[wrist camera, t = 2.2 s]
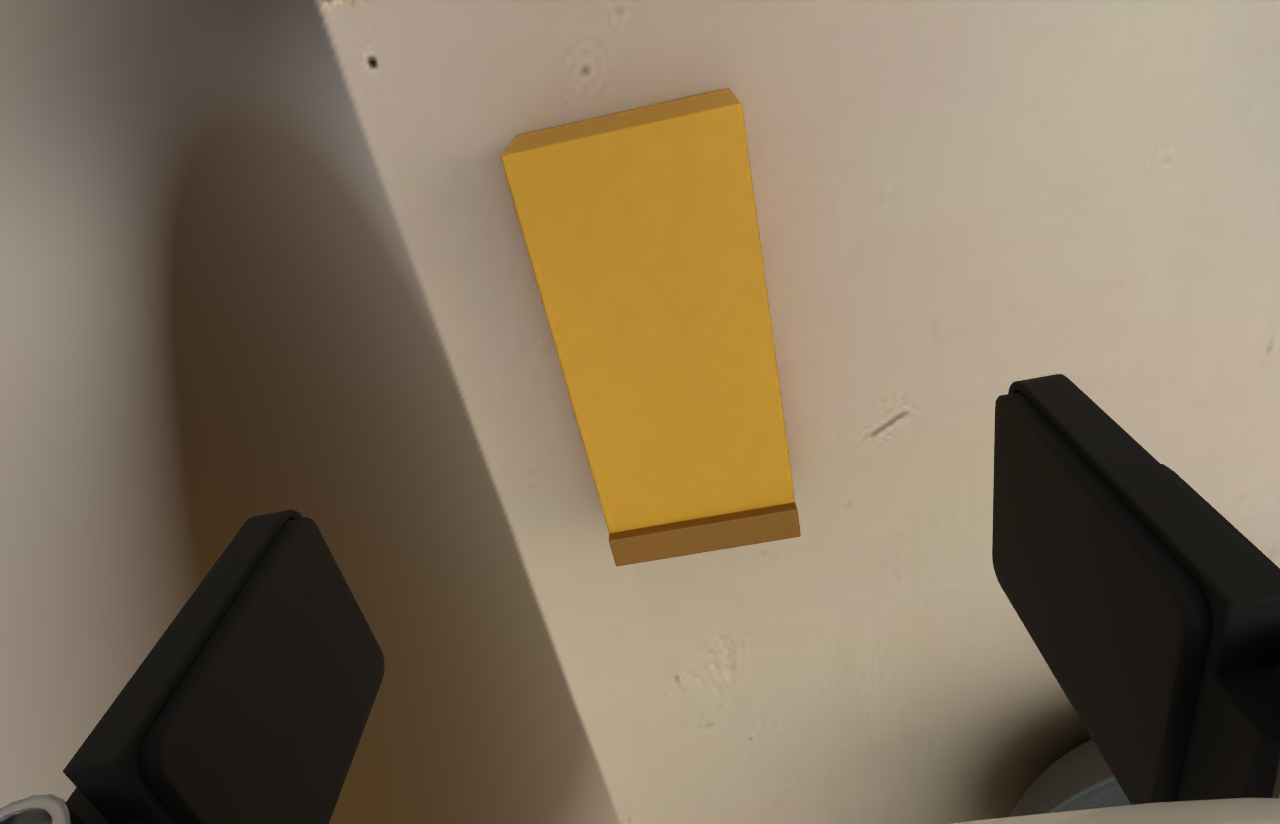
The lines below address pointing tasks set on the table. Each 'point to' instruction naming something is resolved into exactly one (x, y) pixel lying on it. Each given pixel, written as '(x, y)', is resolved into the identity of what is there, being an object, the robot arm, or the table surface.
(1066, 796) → the planter
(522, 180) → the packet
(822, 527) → the table surface
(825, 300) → the table surface
